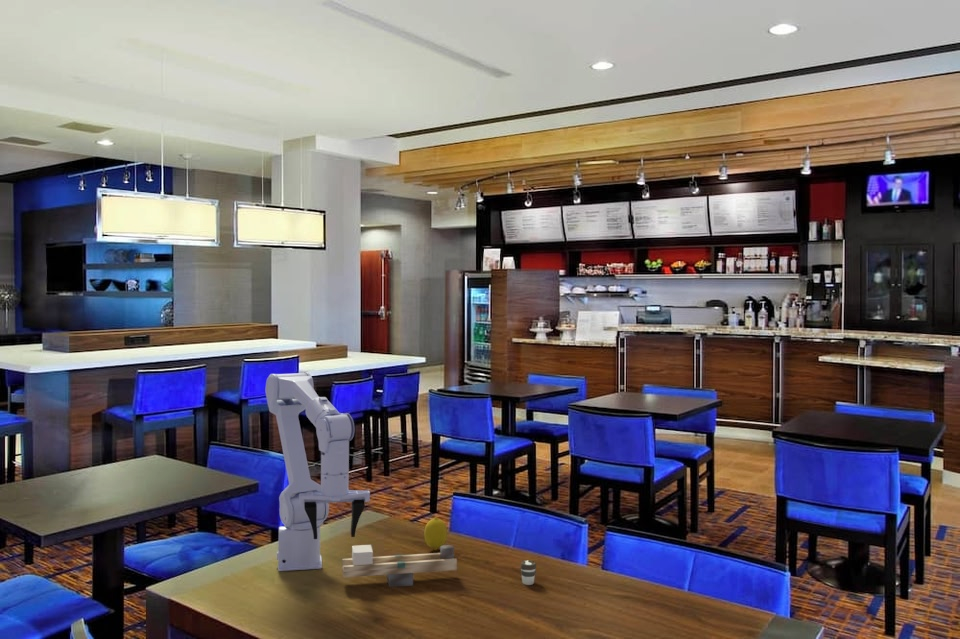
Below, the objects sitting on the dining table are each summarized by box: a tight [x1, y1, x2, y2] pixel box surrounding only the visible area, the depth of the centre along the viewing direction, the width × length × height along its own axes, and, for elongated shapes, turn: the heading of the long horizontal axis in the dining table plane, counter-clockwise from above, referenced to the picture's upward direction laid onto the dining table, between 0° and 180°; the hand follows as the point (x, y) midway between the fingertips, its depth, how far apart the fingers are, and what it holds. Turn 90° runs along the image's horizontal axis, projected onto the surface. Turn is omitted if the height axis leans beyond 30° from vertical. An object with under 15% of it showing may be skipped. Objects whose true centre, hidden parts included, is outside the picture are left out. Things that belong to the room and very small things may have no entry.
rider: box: [351, 544, 374, 565], centre depth 158 cm, size 4×5×4 cm
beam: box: [341, 544, 458, 588], centre depth 160 cm, size 24×6×7 cm, turn 103°
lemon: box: [423, 516, 448, 551], centre depth 180 cm, size 6×6×8 cm
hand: (334, 536), depth 157 cm, fingers open, 7 cm apart
